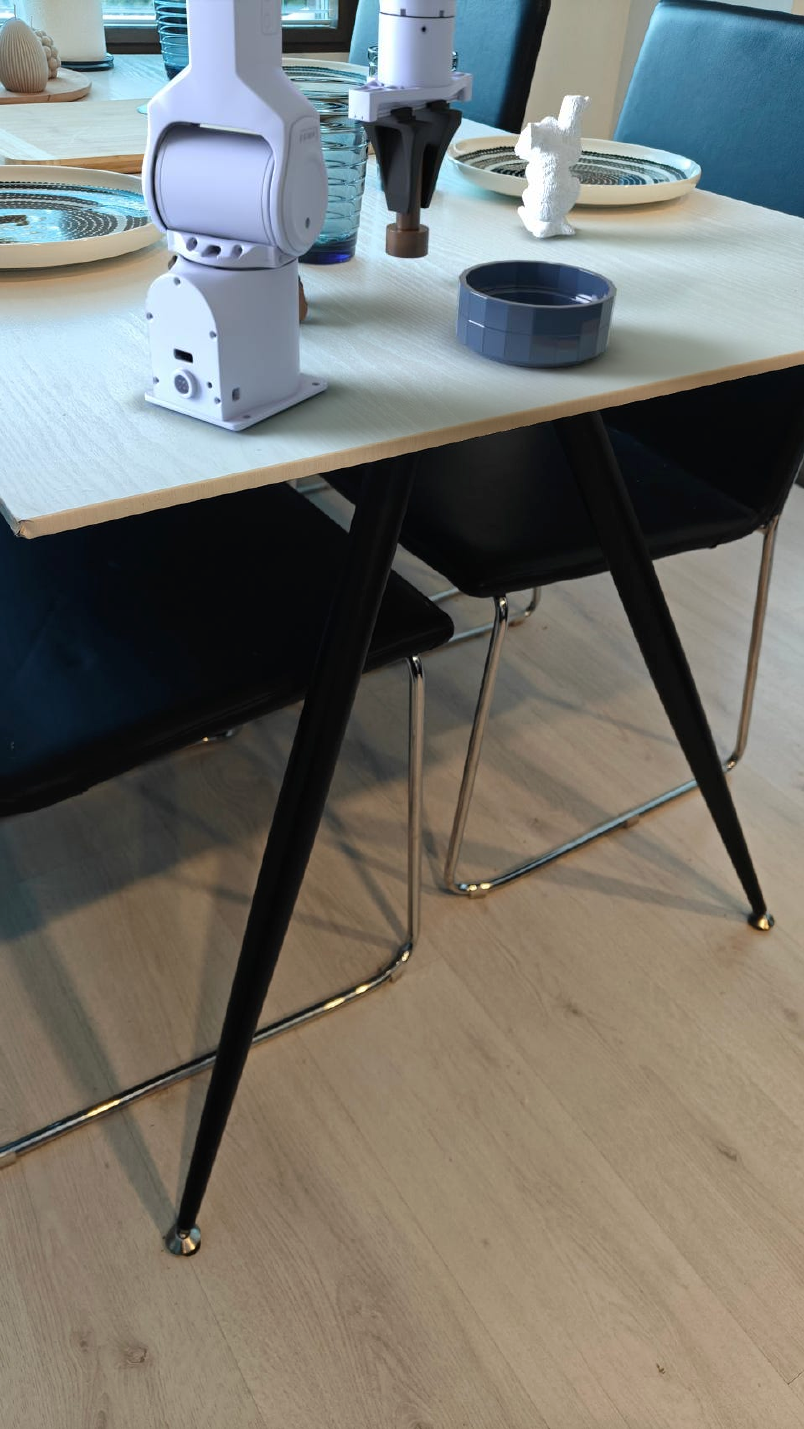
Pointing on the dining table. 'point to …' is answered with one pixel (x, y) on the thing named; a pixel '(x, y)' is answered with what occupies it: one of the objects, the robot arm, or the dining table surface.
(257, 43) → the robot arm
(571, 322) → the bowl
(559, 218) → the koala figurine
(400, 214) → the muddler
